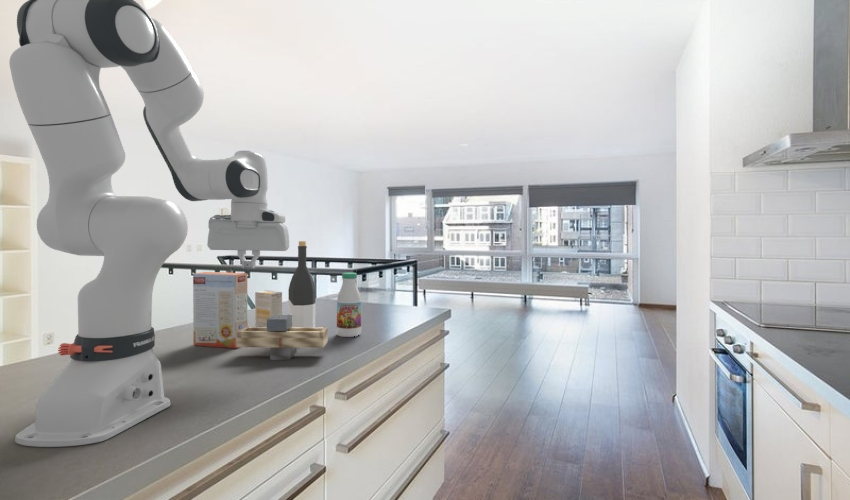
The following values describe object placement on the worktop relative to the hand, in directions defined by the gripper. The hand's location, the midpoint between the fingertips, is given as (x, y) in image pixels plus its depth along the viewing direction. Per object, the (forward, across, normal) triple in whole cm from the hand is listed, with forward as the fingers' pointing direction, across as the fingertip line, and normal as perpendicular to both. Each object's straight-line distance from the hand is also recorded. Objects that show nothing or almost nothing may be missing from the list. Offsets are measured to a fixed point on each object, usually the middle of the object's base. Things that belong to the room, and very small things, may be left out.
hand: (248, 268), depth 114 cm
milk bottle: (+23, +23, +25) cm, 41 cm away
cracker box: (+23, -12, +12) cm, 29 cm away
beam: (+23, +9, +1) cm, 25 cm away
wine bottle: (+23, +9, +21) cm, 32 cm away
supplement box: (+23, -4, +30) cm, 38 cm away
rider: (+18, +8, +1) cm, 19 cm away
